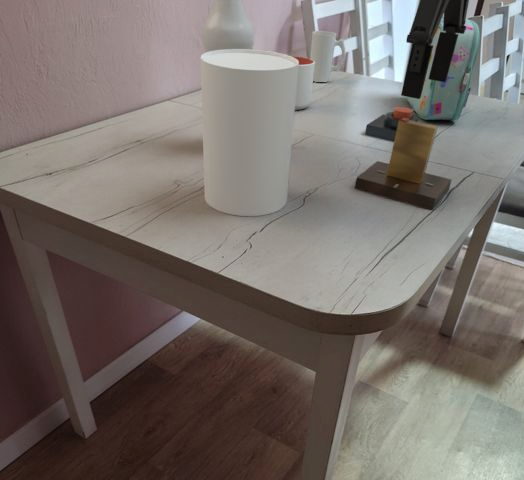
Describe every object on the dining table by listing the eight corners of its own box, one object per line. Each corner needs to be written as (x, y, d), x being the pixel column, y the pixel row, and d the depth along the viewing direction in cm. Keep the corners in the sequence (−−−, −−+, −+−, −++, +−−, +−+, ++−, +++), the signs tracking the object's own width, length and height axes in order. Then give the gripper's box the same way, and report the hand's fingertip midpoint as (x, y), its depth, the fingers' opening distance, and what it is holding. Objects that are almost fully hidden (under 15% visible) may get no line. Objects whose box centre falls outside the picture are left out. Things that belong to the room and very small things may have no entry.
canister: (187, 196, 80) (180, 55, 66) (244, 175, 87) (247, 45, 74) (247, 224, 73) (252, 75, 60) (303, 199, 81) (318, 62, 68)
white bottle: (257, 153, 96) (265, -25, 78) (210, 156, 93) (207, -28, 75) (243, 137, 103) (247, -31, 84) (199, 140, 100) (194, -33, 82)
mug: (305, 81, 143) (310, 33, 135) (309, 76, 148) (314, 30, 140) (340, 85, 141) (346, 37, 133) (342, 80, 146) (349, 33, 138)
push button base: (430, 135, 110) (435, 116, 108) (416, 147, 104) (421, 127, 101) (380, 124, 115) (384, 106, 112) (364, 135, 108) (368, 115, 106)
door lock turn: (423, 180, 84) (438, 124, 78) (419, 184, 83) (435, 127, 77) (390, 172, 86) (402, 117, 80) (386, 175, 85) (399, 119, 79)
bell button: (413, 117, 107) (415, 109, 106) (407, 122, 105) (409, 113, 104) (396, 114, 109) (398, 105, 108) (390, 118, 106) (391, 109, 105)
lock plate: (448, 190, 87) (452, 178, 86) (432, 210, 80) (435, 197, 79) (375, 171, 92) (377, 159, 91) (354, 188, 85) (356, 176, 84)
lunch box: (464, 129, 115) (498, 21, 101) (421, 126, 115) (449, 18, 101) (436, 99, 135) (460, 5, 121) (399, 96, 135) (419, 2, 121)
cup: (276, 98, 127) (279, 54, 121) (313, 103, 126) (318, 59, 119) (265, 107, 120) (268, 61, 114) (305, 113, 118) (309, 66, 112)
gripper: (465, -95, 71) (425, 70, 85) (410, -109, 54) (372, 99, 68) (518, -92, 68) (468, 78, 82) (478, -106, 51) (424, 110, 65)
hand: (424, 88), depth 75 cm, fingers open, 13 cm apart
